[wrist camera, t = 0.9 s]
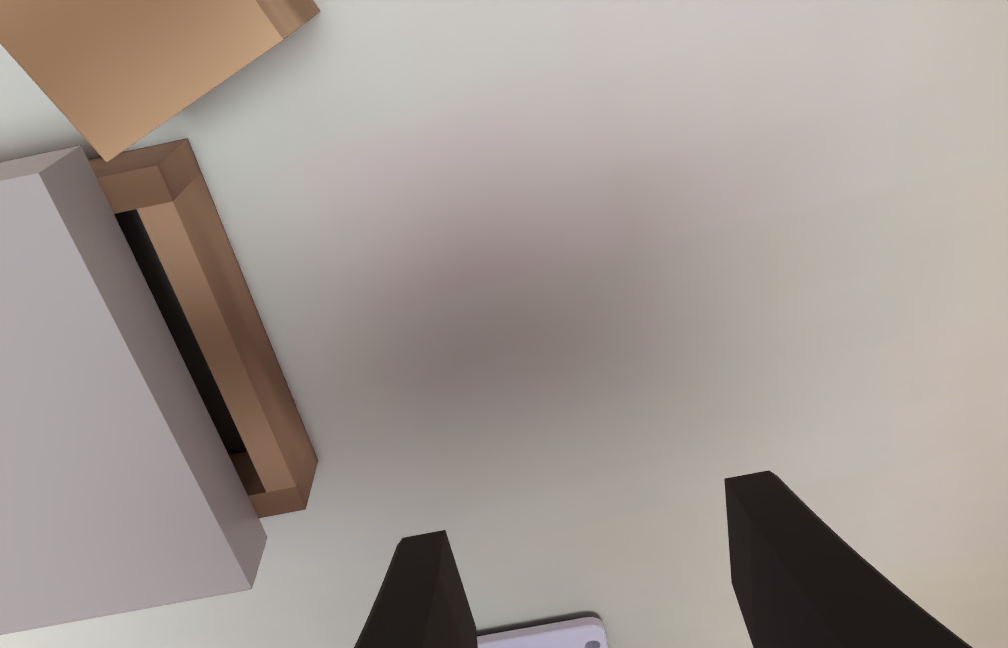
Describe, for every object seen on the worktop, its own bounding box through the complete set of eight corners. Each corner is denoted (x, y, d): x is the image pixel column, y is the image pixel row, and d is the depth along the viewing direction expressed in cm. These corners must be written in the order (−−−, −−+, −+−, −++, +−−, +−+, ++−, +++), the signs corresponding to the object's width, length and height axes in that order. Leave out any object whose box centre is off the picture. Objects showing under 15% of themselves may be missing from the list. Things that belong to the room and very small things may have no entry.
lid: (267, 536, 21) (251, 589, 19) (-12, 588, 21) (-50, 644, 20) (81, 145, 15) (38, 172, 14) (-288, 223, 16) (-370, 259, 14)
